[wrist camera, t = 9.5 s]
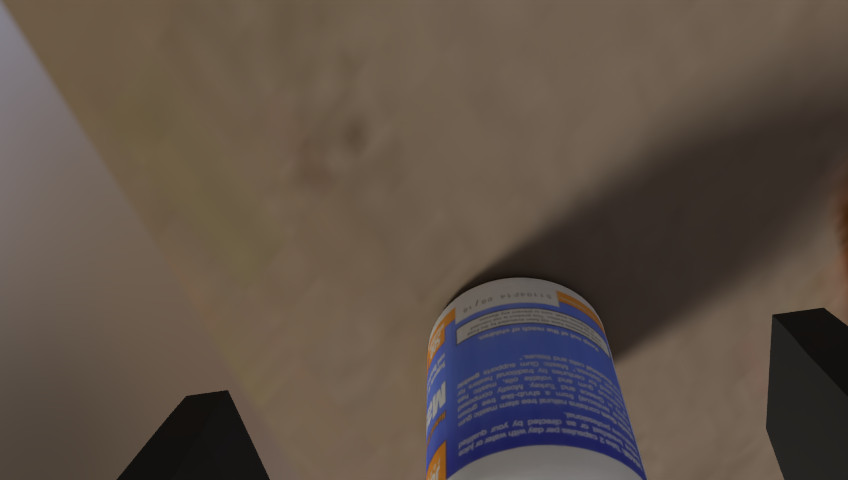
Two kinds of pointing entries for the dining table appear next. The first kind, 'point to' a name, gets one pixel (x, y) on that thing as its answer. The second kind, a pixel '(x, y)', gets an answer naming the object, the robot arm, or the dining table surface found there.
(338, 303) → the dining table surface
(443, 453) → the pill bottle
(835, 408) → the robot arm
